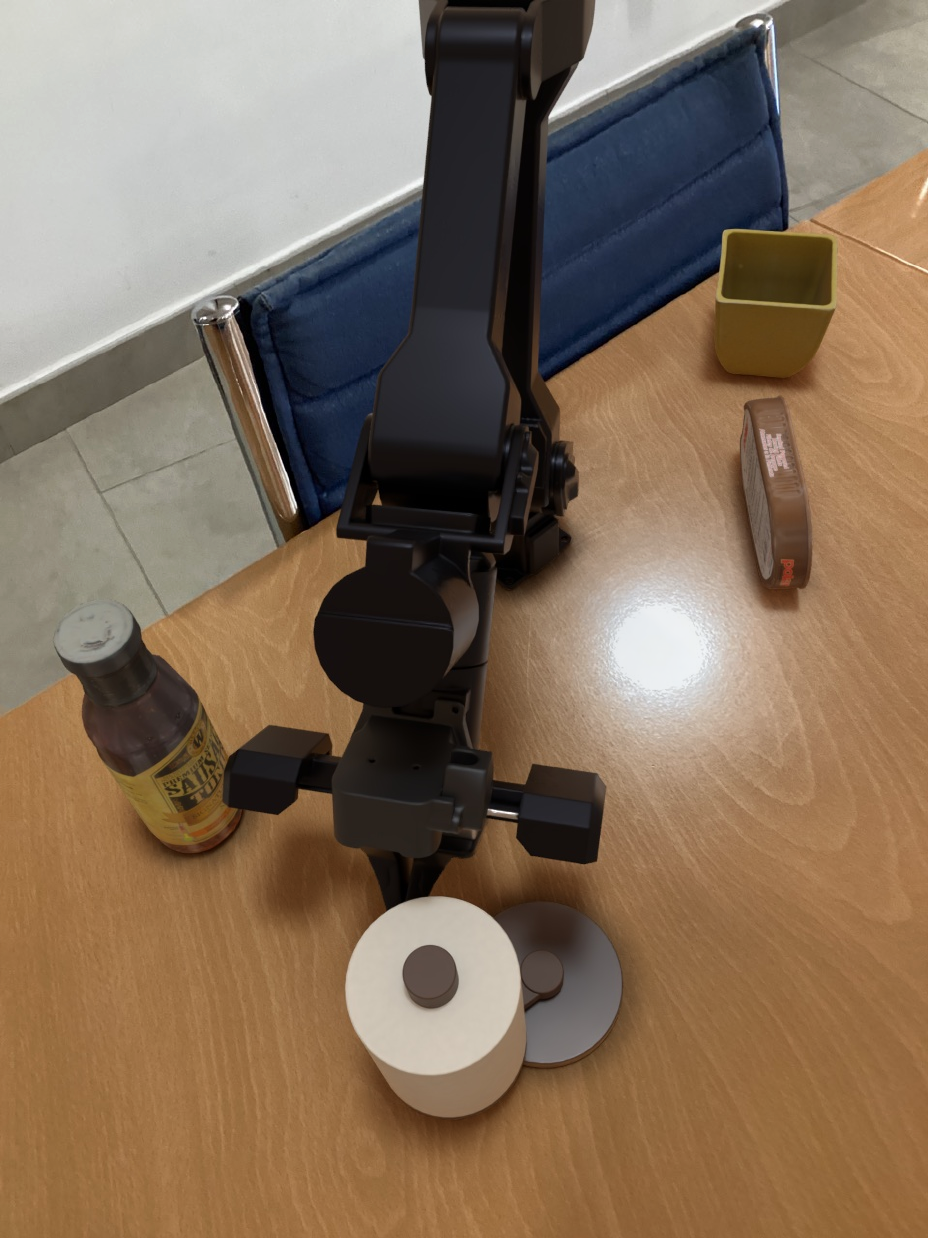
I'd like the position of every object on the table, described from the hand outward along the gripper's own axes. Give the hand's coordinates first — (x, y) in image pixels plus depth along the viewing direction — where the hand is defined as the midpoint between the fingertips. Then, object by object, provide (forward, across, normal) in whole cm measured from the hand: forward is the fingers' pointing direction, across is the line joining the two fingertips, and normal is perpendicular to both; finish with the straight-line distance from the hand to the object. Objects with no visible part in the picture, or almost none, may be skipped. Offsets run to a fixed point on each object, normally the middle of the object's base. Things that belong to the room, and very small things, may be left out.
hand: (403, 944), depth 55 cm
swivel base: (+4, +7, +5) cm, 10 cm away
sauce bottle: (-1, -16, +11) cm, 19 cm away
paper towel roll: (+6, +4, +2) cm, 7 cm away
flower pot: (-34, +17, +43) cm, 58 cm away
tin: (-21, +18, +30) cm, 41 cm away
